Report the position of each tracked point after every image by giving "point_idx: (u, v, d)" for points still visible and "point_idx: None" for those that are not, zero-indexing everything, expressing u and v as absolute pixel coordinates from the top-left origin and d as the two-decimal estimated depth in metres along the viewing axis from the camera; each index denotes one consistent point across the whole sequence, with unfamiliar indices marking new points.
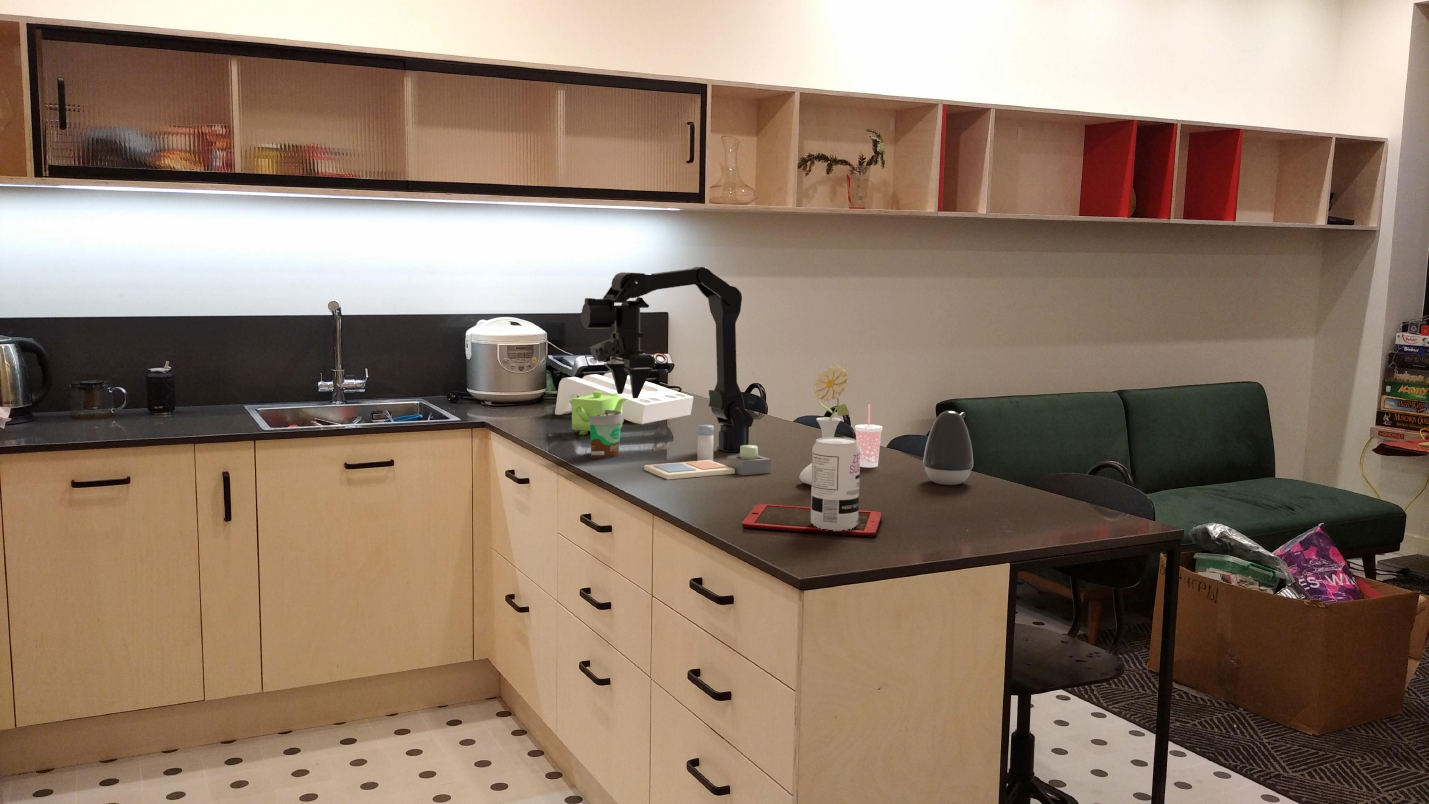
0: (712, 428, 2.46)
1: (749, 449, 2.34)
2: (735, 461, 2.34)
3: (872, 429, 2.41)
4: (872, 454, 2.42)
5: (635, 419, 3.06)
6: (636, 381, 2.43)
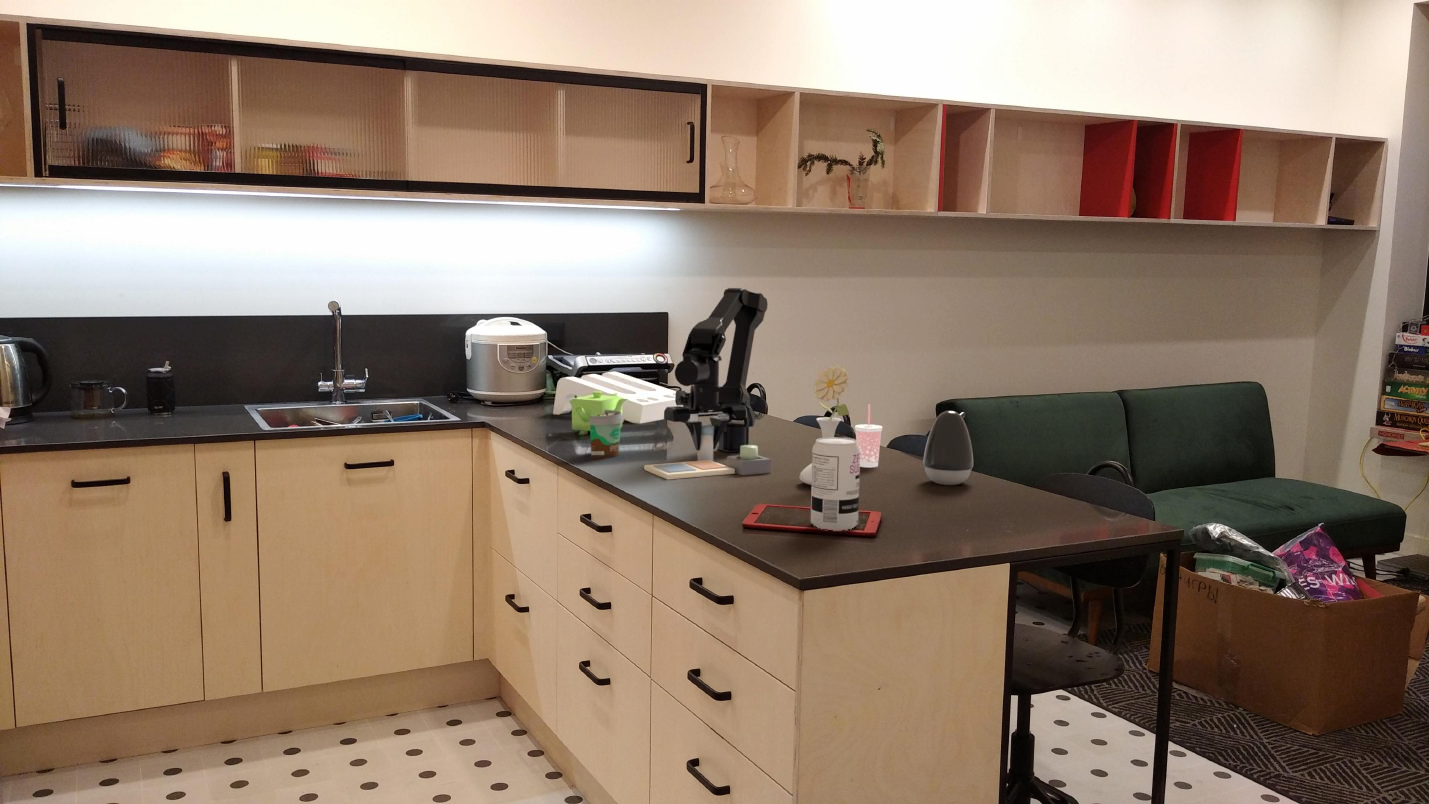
0: (712, 428, 2.46)
1: (749, 449, 2.34)
2: (735, 461, 2.34)
3: (872, 429, 2.41)
4: (872, 454, 2.42)
5: (633, 418, 3.07)
6: (693, 433, 2.46)
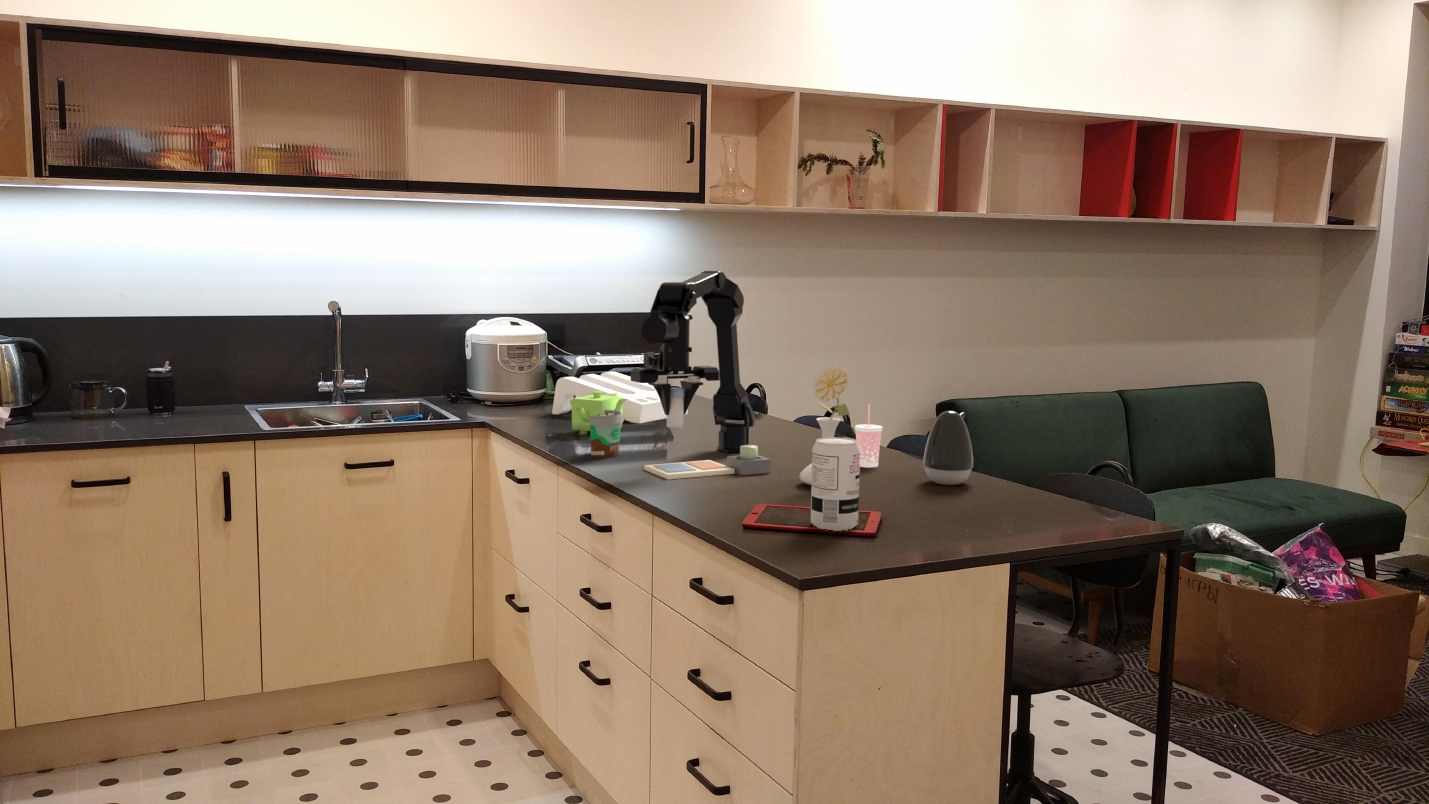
0: (682, 391, 2.31)
1: (749, 449, 2.34)
2: (735, 461, 2.34)
3: (872, 429, 2.41)
4: (872, 454, 2.42)
5: (632, 418, 3.07)
6: (661, 396, 2.31)
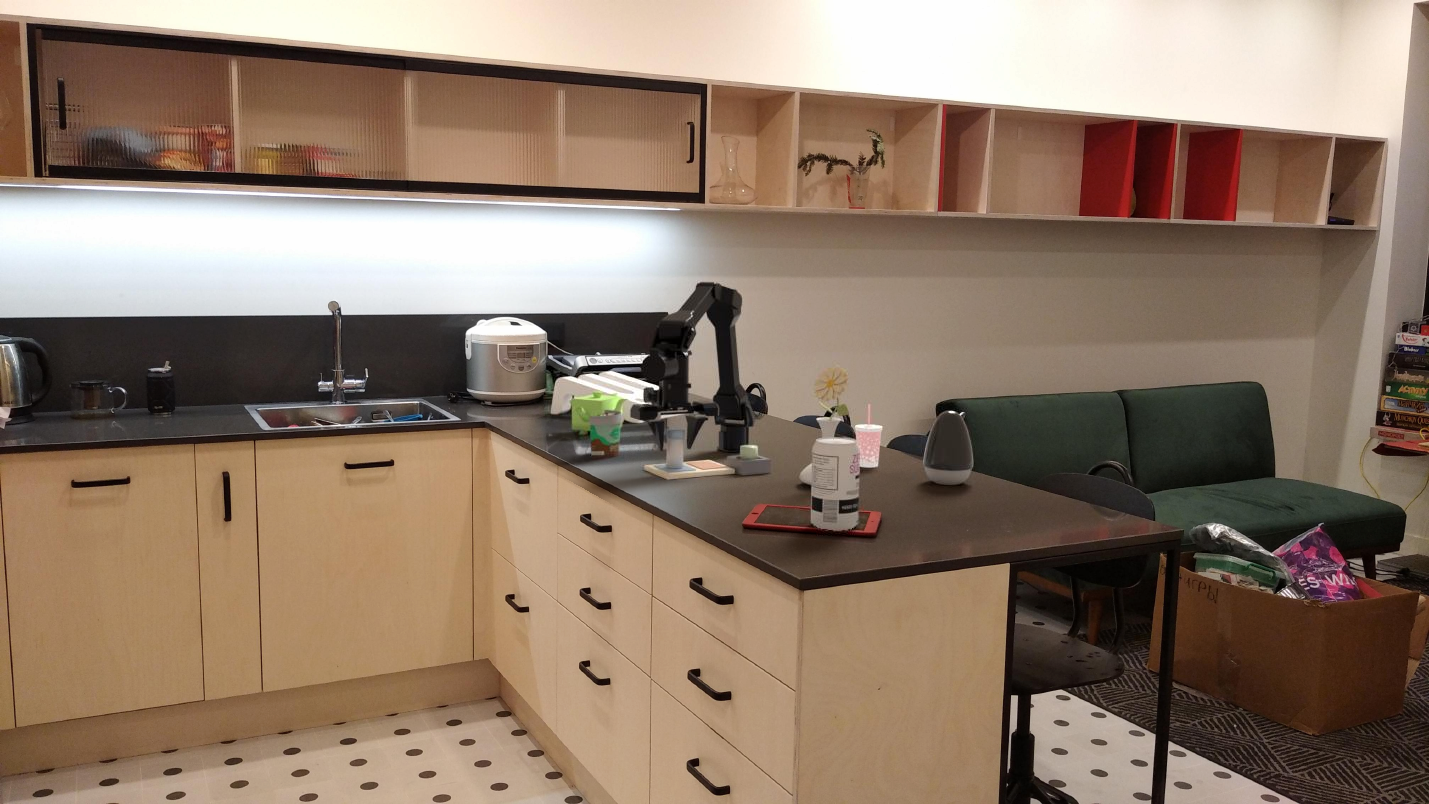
0: (682, 432, 2.32)
1: (749, 449, 2.34)
2: (735, 461, 2.34)
3: (872, 429, 2.41)
4: (872, 454, 2.42)
5: (632, 418, 3.08)
6: (655, 433, 2.31)
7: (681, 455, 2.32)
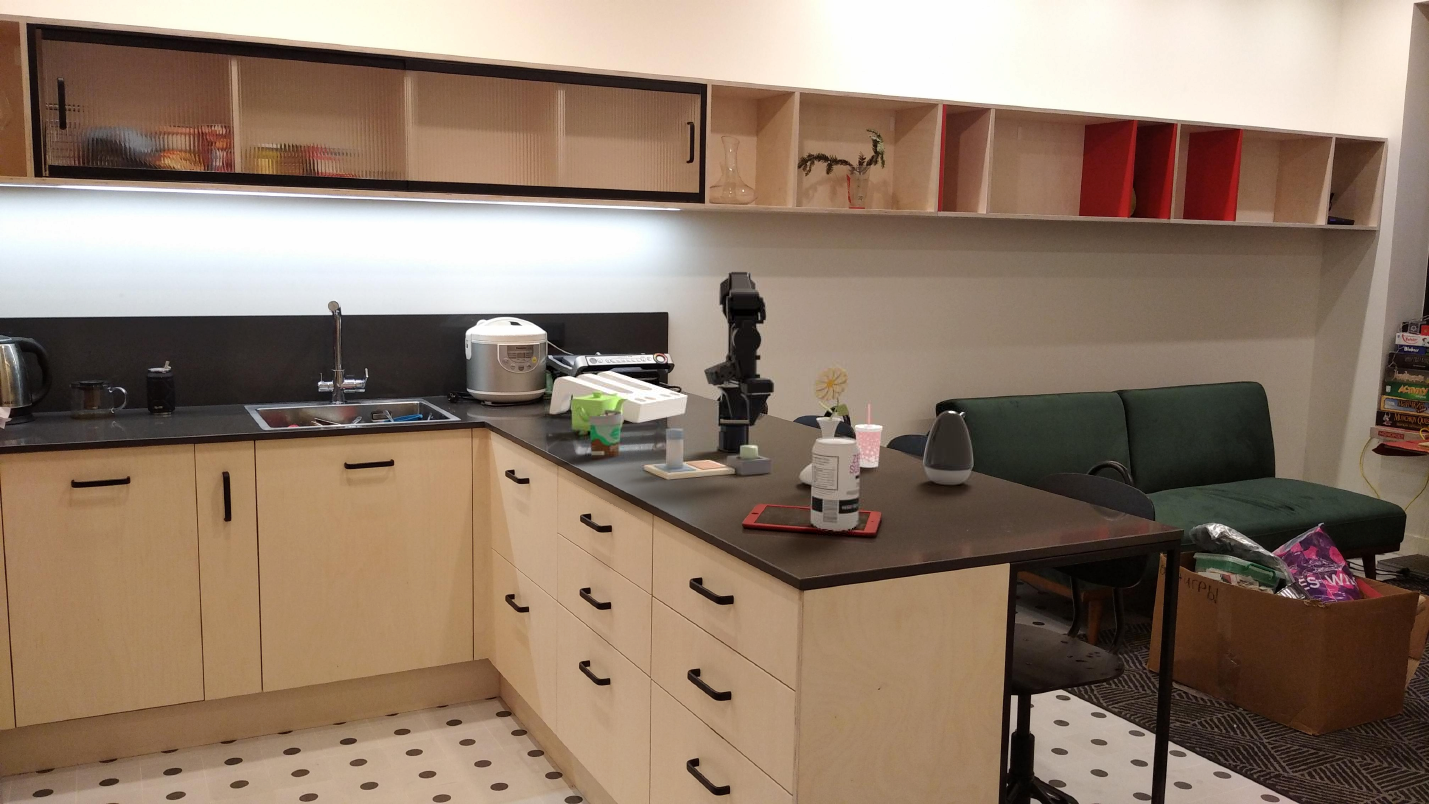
0: (681, 432, 2.32)
1: (749, 449, 2.34)
2: (735, 461, 2.34)
3: (872, 429, 2.41)
4: (872, 454, 2.42)
5: (631, 417, 3.09)
6: (753, 407, 2.29)
7: (681, 455, 2.32)
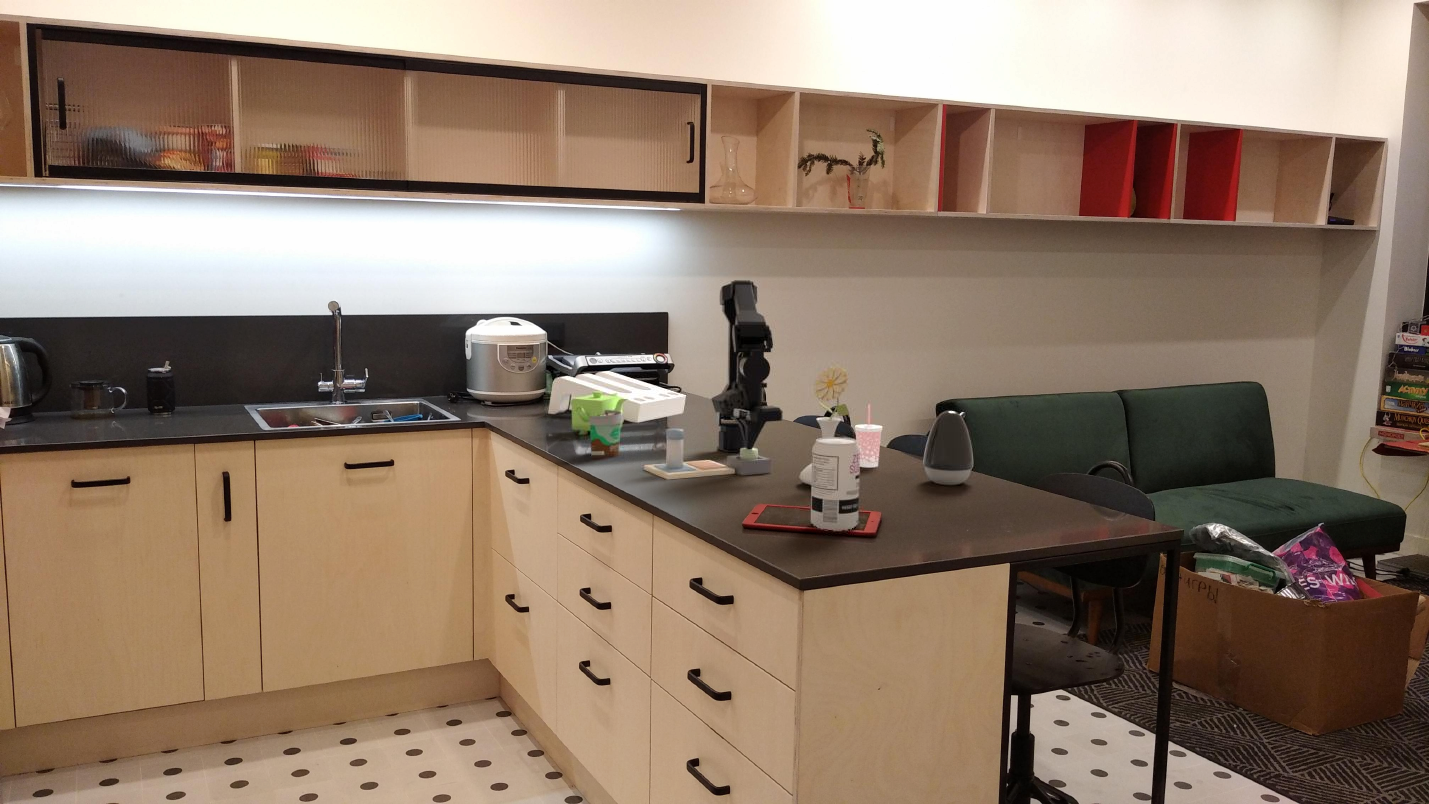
0: (682, 432, 2.32)
1: (749, 452, 2.34)
2: (735, 461, 2.34)
3: (872, 429, 2.41)
4: (872, 454, 2.42)
5: (630, 417, 3.09)
6: (751, 432, 2.34)
7: (681, 455, 2.32)
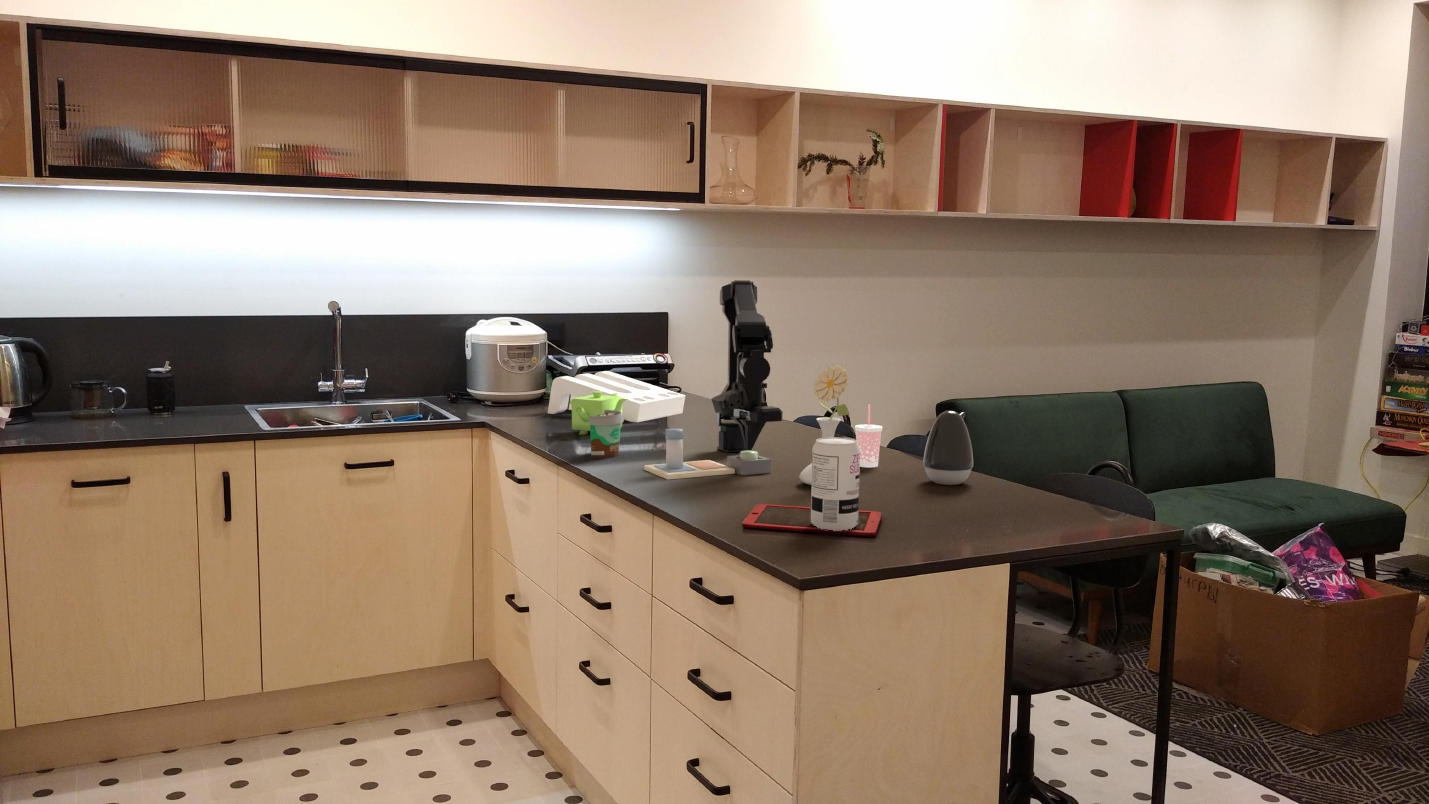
0: (681, 432, 2.32)
1: (749, 455, 2.34)
2: (735, 461, 2.34)
3: (872, 429, 2.41)
4: (872, 454, 2.42)
5: (630, 417, 3.09)
6: (751, 432, 2.34)
7: (680, 455, 2.32)
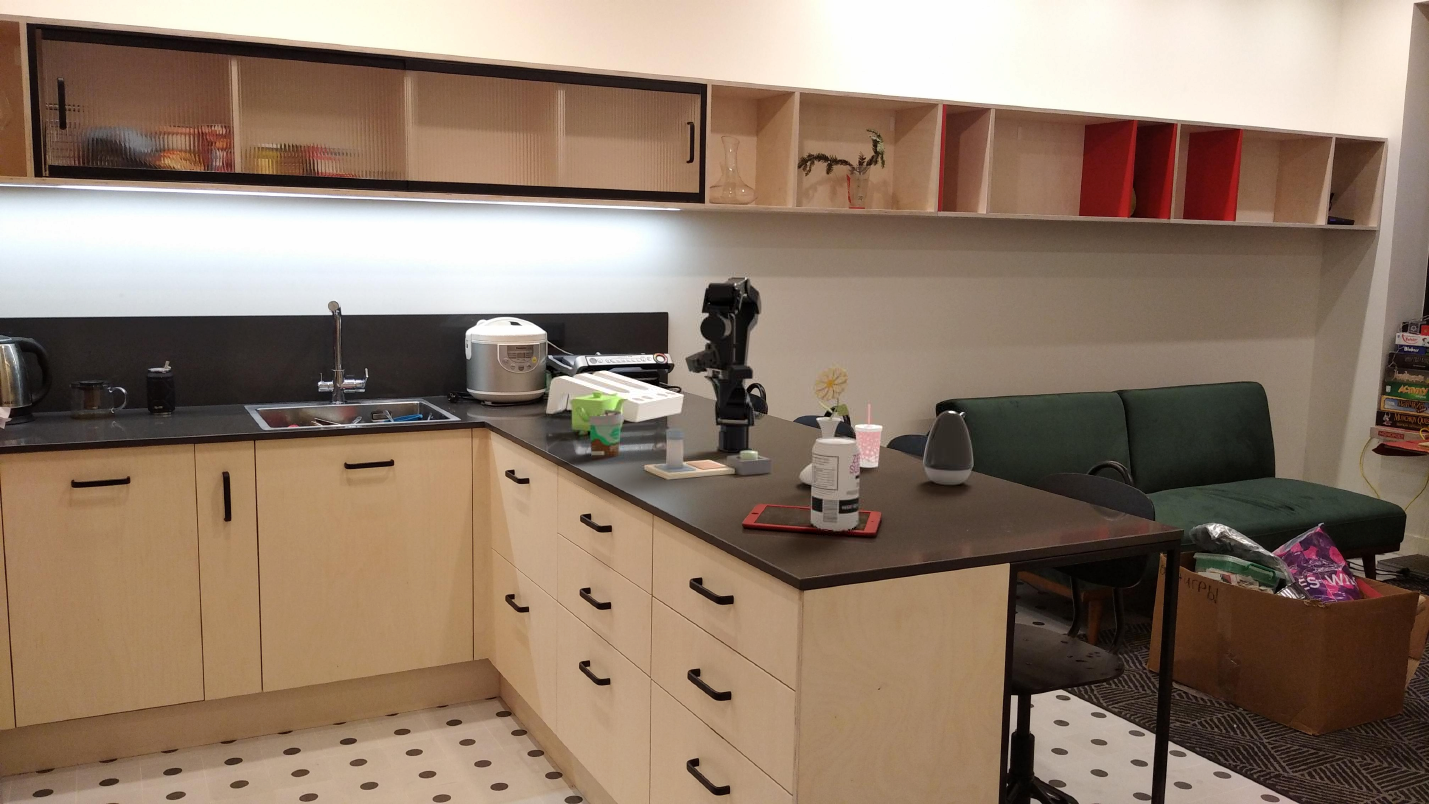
0: (682, 432, 2.32)
1: (749, 455, 2.34)
2: (735, 461, 2.34)
3: (872, 429, 2.41)
4: (872, 454, 2.42)
5: (629, 417, 3.10)
6: (724, 390, 2.45)
7: (681, 455, 2.32)
